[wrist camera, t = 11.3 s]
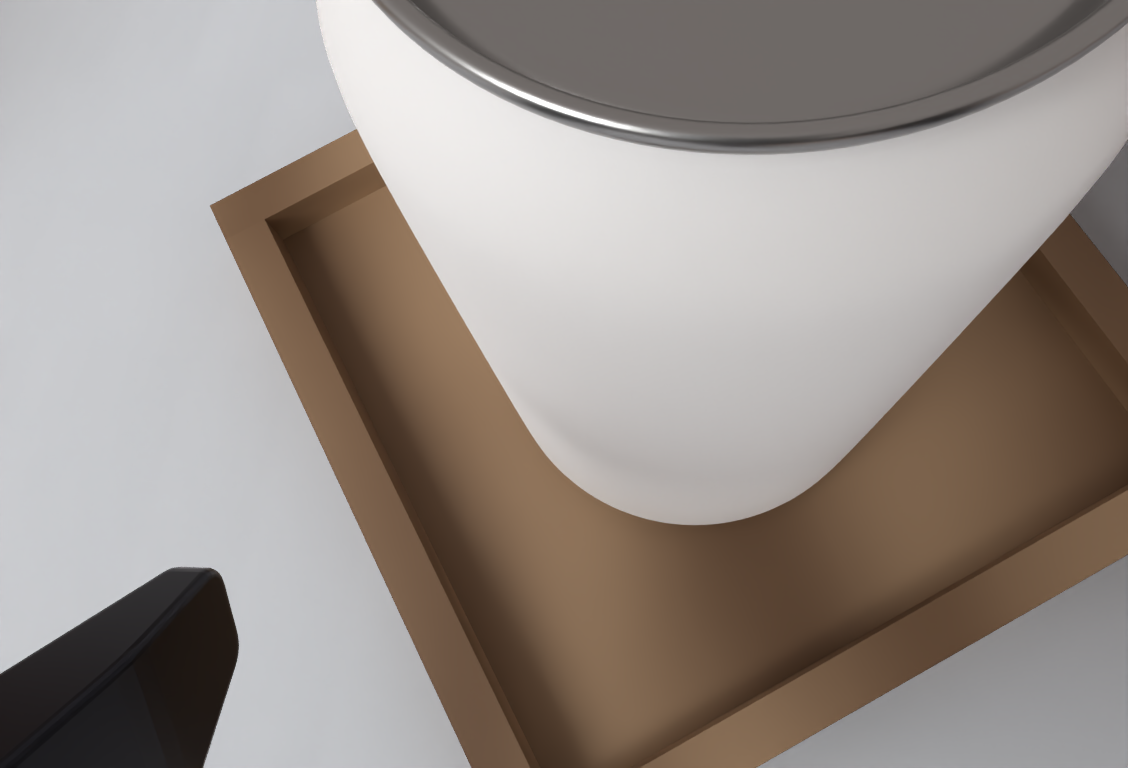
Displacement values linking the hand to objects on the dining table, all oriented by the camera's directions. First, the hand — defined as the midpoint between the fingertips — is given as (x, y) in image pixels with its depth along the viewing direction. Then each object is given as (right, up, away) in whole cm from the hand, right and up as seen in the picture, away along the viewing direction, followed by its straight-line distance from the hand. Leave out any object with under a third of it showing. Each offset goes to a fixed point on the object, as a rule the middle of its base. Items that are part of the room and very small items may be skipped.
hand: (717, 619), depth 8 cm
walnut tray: (+1, +3, +9) cm, 10 cm away
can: (+1, +3, +9) cm, 9 cm away
